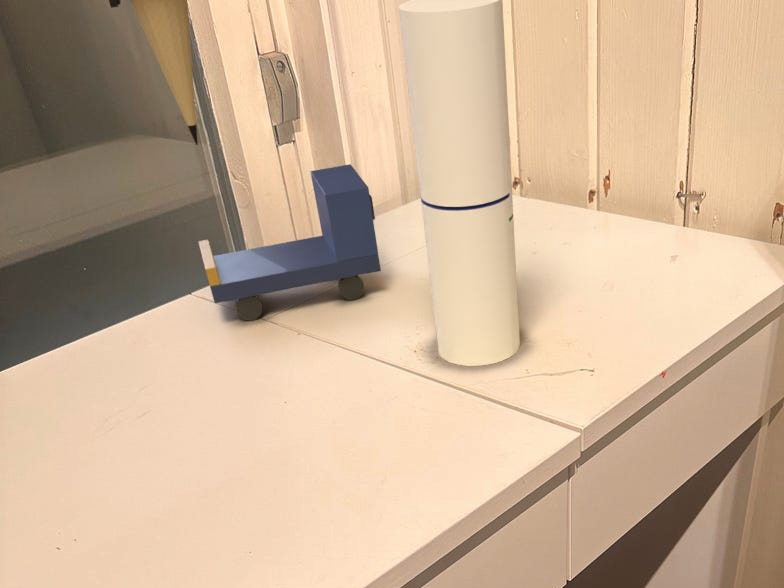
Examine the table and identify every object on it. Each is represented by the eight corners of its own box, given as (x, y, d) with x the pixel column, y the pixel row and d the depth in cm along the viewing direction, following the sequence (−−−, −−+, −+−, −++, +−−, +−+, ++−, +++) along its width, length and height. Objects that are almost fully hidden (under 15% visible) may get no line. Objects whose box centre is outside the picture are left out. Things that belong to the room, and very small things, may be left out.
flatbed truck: (221, 328, 87) (191, 218, 80) (214, 297, 92) (184, 192, 86) (387, 295, 89) (371, 186, 83) (369, 267, 95) (353, 163, 88)
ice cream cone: (246, 135, 74) (193, -100, 64) (208, 157, 71) (145, -90, 60) (187, 134, 76) (126, -96, 66) (147, 155, 72) (76, -85, 62)
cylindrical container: (421, 355, 79) (377, 10, 62) (469, 323, 83) (439, -9, 66) (489, 372, 76) (462, 13, 59) (535, 338, 80) (522, -8, 63)
